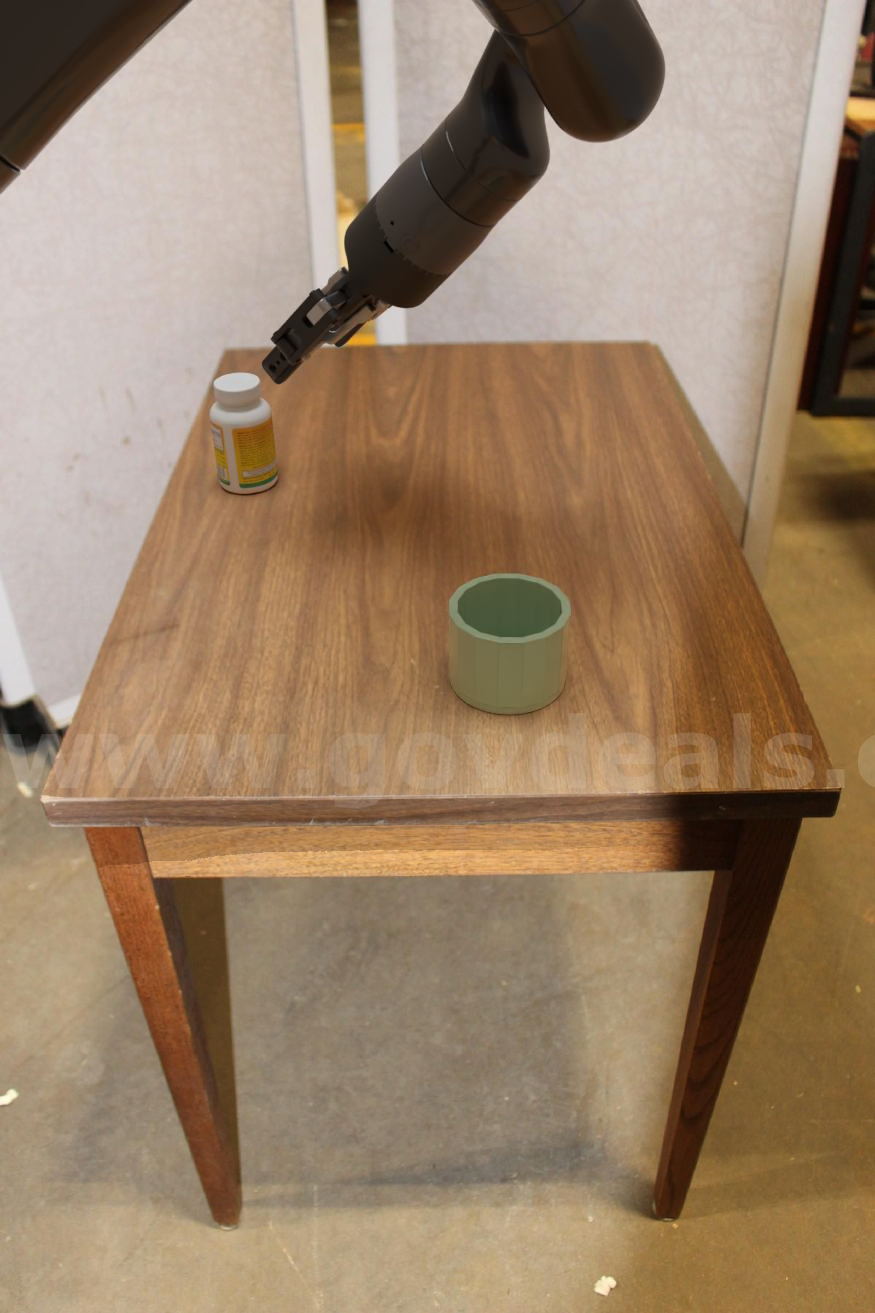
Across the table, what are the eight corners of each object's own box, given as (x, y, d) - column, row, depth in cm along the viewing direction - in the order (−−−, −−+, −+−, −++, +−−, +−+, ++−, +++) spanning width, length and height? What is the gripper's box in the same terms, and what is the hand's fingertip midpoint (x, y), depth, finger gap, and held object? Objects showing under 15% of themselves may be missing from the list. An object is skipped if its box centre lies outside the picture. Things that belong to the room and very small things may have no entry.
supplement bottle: (209, 490, 96) (192, 389, 90) (236, 464, 100) (222, 365, 94) (263, 499, 94) (249, 397, 89) (289, 472, 98) (278, 372, 93)
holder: (476, 727, 70) (477, 654, 66) (432, 658, 76) (431, 587, 72) (585, 697, 72) (592, 625, 68) (534, 632, 78) (538, 563, 74)
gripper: (437, 159, 79) (321, 291, 91) (331, 206, 69) (216, 347, 81) (500, 242, 80) (378, 362, 92) (404, 300, 70) (281, 426, 82)
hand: (302, 355), depth 86 cm, fingers open, 8 cm apart
